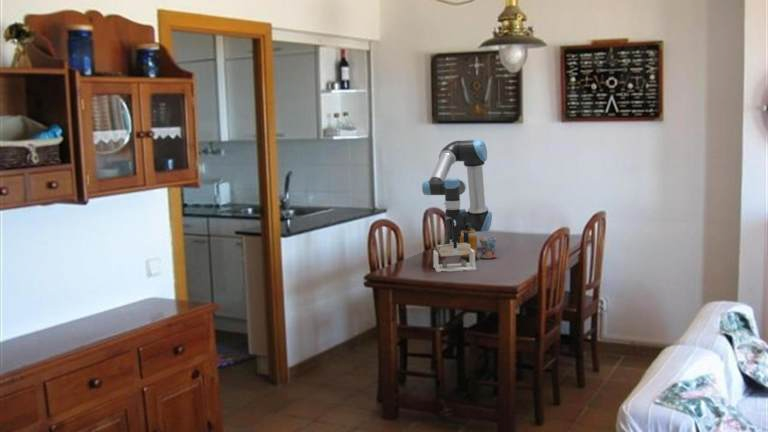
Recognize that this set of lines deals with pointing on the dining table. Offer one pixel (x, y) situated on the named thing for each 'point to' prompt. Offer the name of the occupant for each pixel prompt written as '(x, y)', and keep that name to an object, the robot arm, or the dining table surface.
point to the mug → (488, 247)
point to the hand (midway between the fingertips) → (453, 253)
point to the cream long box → (447, 249)
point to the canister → (469, 239)
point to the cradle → (454, 267)
